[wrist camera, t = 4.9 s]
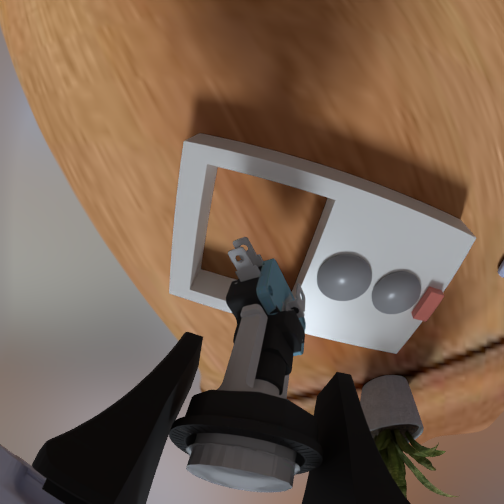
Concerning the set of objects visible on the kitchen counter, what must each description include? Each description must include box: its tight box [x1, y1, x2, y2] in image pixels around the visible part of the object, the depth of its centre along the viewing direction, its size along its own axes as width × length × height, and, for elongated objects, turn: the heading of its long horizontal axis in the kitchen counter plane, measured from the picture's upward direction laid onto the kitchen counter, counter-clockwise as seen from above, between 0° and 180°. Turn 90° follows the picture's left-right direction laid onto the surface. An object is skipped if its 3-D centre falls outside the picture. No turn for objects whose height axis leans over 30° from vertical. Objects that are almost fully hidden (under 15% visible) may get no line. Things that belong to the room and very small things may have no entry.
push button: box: [169, 237, 323, 492], centre depth 11 cm, size 7×5×10 cm
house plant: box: [360, 375, 456, 498], centre depth 20 cm, size 14×14×16 cm
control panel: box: [169, 133, 476, 354], centre depth 18 cm, size 18×11×3 cm, turn 77°
